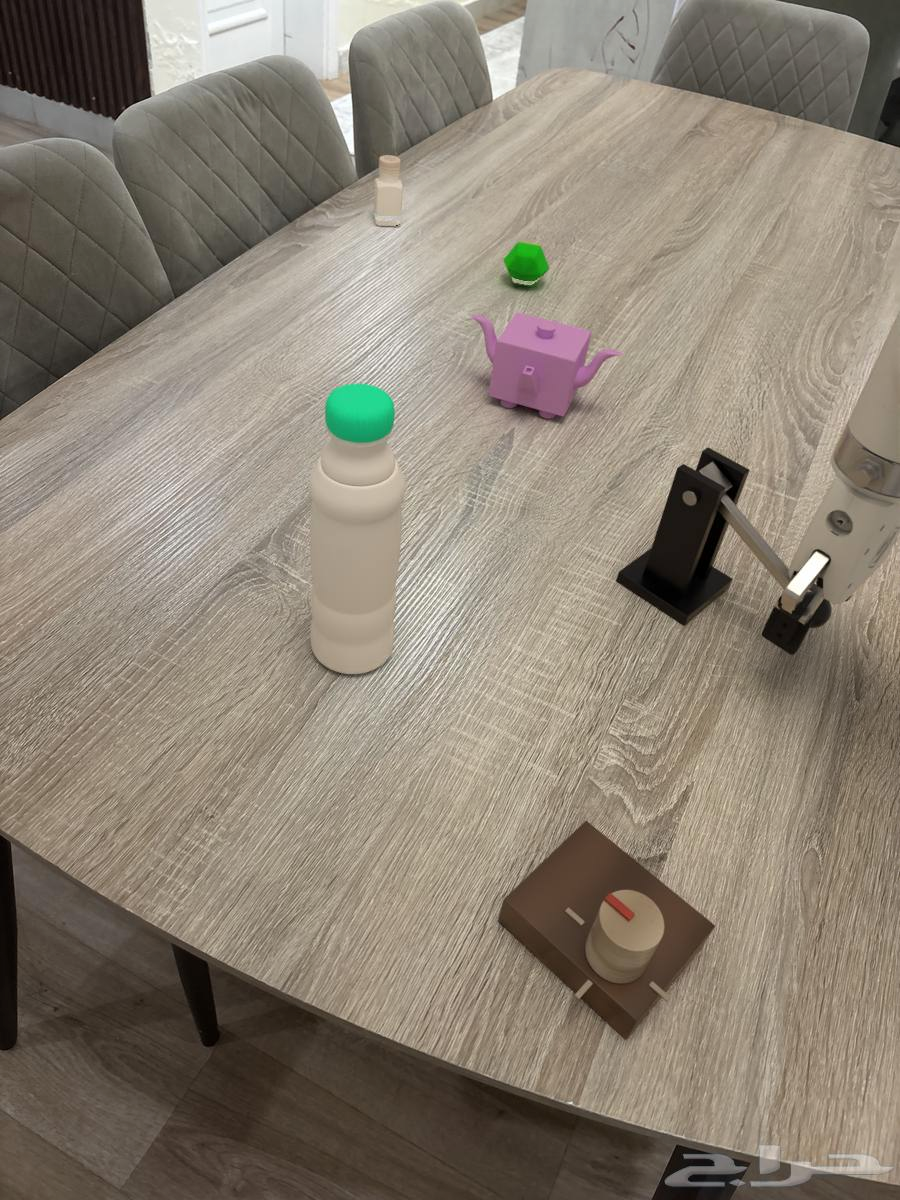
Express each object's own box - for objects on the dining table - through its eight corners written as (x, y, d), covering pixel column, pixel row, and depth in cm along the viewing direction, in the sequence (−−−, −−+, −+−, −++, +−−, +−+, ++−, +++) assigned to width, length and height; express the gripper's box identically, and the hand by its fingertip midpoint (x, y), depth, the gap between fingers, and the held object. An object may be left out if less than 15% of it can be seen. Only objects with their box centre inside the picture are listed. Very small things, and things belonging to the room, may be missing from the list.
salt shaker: (401, 228, 145) (404, 164, 139) (375, 227, 145) (377, 163, 138) (398, 217, 148) (401, 154, 142) (373, 216, 147) (375, 153, 141)
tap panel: (710, 952, 64) (724, 930, 62) (618, 1066, 58) (630, 1046, 56) (578, 842, 69) (586, 818, 67) (481, 936, 63) (487, 913, 61)
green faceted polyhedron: (529, 242, 128) (537, 217, 134) (491, 265, 131) (501, 239, 138) (556, 285, 131) (563, 258, 138) (518, 307, 135) (527, 280, 141)
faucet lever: (819, 623, 83) (845, 608, 81) (802, 640, 81) (828, 625, 79) (696, 475, 85) (718, 456, 83) (677, 489, 83) (698, 470, 81)
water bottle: (378, 611, 84) (392, 364, 67) (404, 668, 80) (426, 418, 63) (301, 627, 82) (296, 375, 65) (323, 686, 78) (324, 432, 60)
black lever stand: (729, 587, 92) (776, 473, 82) (684, 625, 87) (728, 509, 78) (662, 546, 95) (700, 431, 86) (615, 580, 91) (650, 464, 81)
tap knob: (659, 954, 60) (678, 918, 57) (622, 997, 58) (640, 962, 55) (609, 912, 62) (626, 874, 59) (572, 952, 60) (587, 915, 57)
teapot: (442, 408, 110) (451, 332, 103) (478, 358, 119) (488, 284, 112) (591, 450, 106) (609, 374, 100) (616, 395, 116) (634, 322, 109)
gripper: (885, 530, 64) (795, 692, 76) (980, 439, 73) (888, 595, 85) (787, 477, 67) (717, 641, 79) (891, 397, 77) (814, 553, 89)
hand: (805, 617), depth 82 cm, fingers open, 9 cm apart
